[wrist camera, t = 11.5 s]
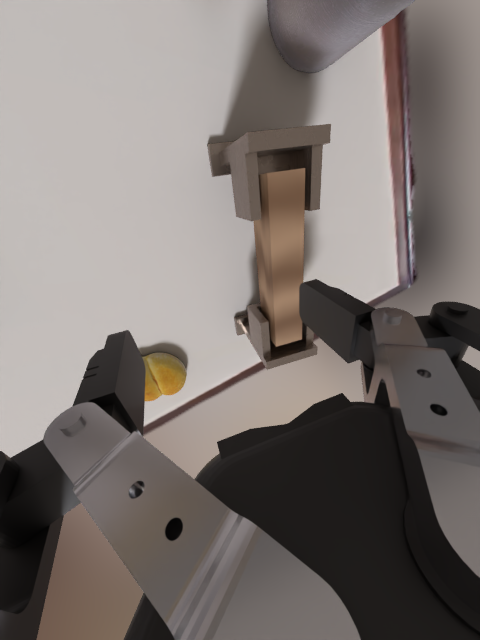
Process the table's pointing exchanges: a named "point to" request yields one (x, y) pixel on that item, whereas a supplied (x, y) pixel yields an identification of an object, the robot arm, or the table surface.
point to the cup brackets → (244, 166)
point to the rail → (281, 252)
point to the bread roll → (163, 375)
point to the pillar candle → (325, 28)
